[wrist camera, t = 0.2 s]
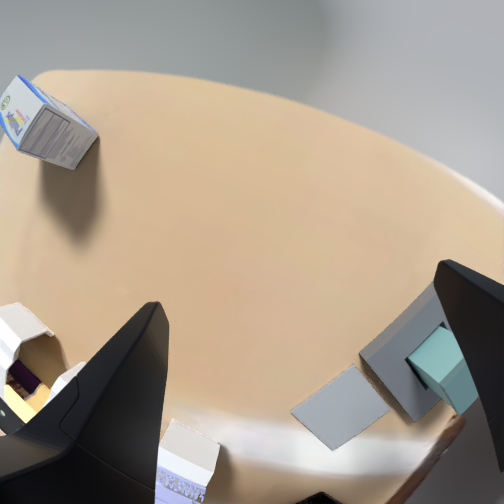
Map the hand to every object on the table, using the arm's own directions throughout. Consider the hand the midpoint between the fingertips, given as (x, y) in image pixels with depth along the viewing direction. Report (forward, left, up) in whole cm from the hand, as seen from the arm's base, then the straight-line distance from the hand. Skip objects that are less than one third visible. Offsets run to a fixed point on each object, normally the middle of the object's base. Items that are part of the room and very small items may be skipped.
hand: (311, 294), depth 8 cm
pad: (-14, +4, -15) cm, 21 cm away
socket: (-15, -5, -15) cm, 22 cm away
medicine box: (+24, +8, -15) cm, 29 cm away
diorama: (+1, +24, -15) cm, 28 cm away
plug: (-15, -5, -15) cm, 22 cm away
